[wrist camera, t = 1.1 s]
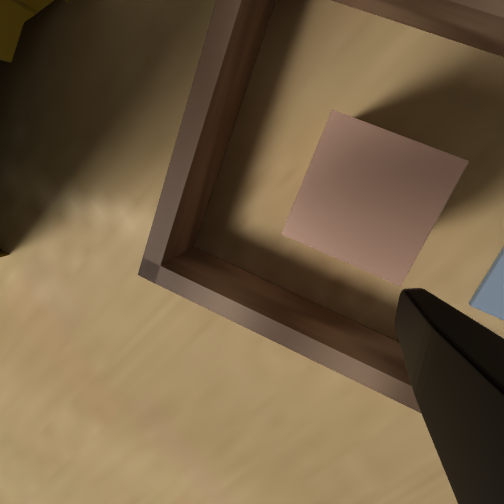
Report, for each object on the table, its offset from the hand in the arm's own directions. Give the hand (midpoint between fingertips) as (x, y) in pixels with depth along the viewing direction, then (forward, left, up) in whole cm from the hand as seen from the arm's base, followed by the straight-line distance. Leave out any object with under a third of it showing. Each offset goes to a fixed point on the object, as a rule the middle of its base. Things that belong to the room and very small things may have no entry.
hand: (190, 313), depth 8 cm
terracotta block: (-3, -3, -13) cm, 14 cm away
